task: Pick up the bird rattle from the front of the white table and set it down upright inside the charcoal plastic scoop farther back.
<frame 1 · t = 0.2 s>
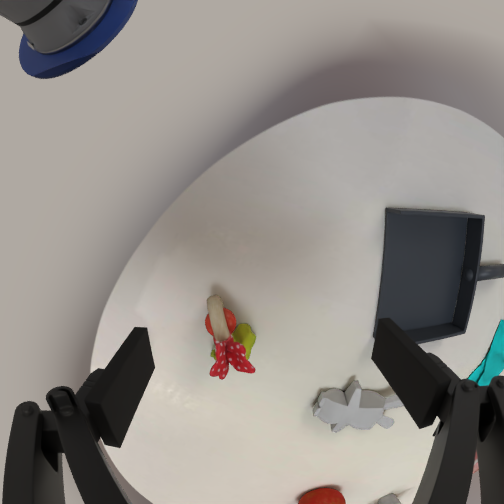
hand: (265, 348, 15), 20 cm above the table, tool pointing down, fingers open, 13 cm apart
scoop: (424, 273, 36), on the table
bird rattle: (224, 319, 36), on the table
apple: (318, 494, 47), on the table
house plant: (389, 495, 50), on the table
cloth: (492, 360, 41), on the table
bunny figurine: (356, 398, 40), on the table
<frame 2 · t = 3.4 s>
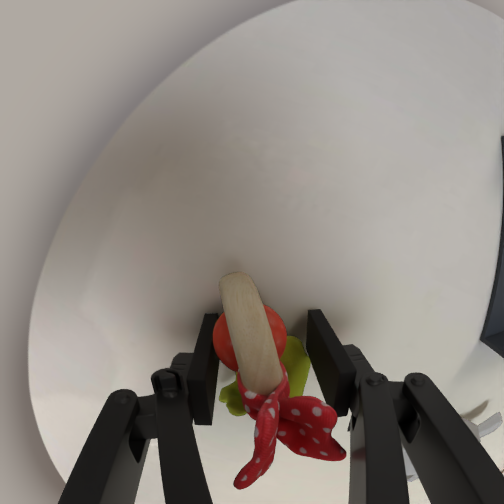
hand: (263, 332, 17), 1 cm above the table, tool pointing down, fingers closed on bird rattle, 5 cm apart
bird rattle: (249, 326, 18), on the table, touching gripper
bunny figurine: (437, 431, 22), on the table
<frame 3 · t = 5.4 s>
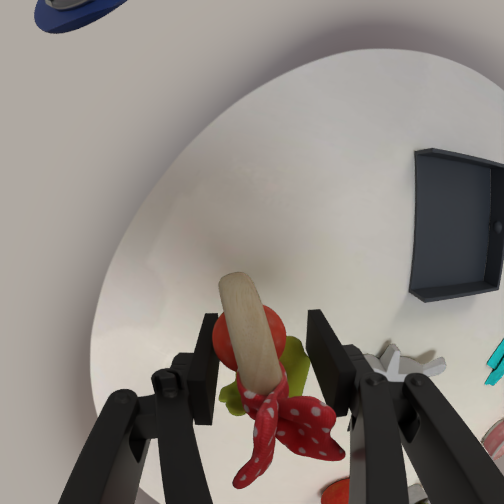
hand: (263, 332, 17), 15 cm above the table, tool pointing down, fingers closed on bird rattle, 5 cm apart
scoop: (455, 223, 32), on the table
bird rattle: (248, 326, 18), point 15 cm above the table, touching gripper
container: (493, 430, 44), on the table
apple: (342, 486, 43), on the table
house plant: (413, 486, 46), on the table
bunny figurine: (390, 368, 36), on the table
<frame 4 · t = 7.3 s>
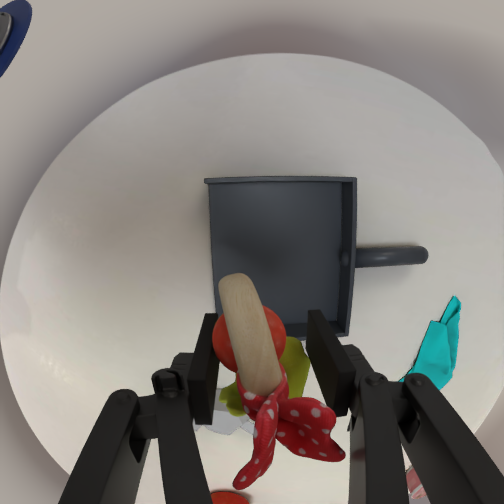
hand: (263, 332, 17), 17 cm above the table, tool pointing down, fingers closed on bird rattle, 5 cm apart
scoop: (277, 256, 33), on the table
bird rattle: (248, 327, 18), point 16 cm above the table, touching gripper
container: (419, 465, 46), on the table
apple: (226, 497, 45), on the table
cloth: (427, 371, 39), on the table
bunny figurine: (221, 398, 38), on the table
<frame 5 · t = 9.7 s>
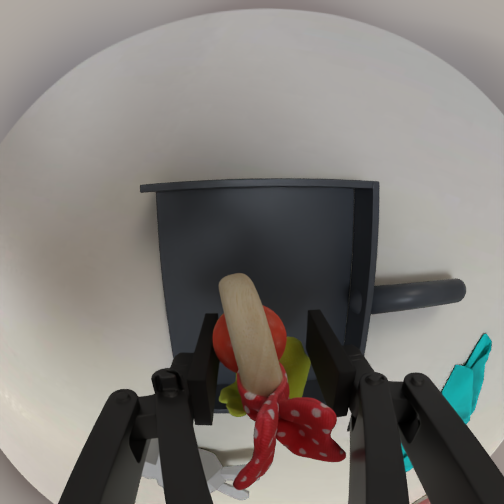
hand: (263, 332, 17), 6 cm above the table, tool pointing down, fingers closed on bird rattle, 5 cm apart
scoop: (258, 296, 23), on the table
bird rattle: (249, 327, 18), point 5 cm above the table, touching gripper
container: (422, 500, 36), on the table
cloth: (443, 417, 28), on the table
bunny figurine: (192, 454, 28), on the table
when the fingers open (1 cm above the table, at t = 11.3 s): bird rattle stays where it is, resting on scoop.
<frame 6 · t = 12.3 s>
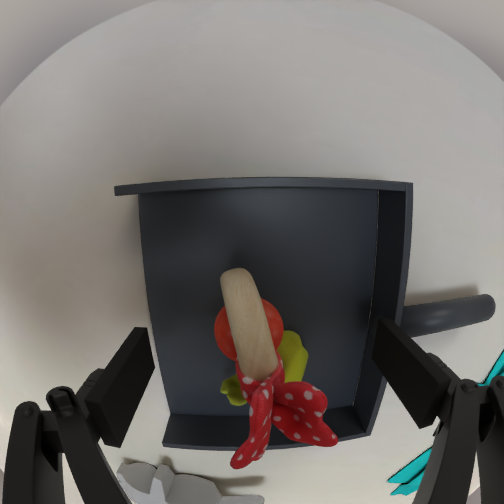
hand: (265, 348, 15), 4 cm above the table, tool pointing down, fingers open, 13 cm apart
scoop: (262, 319, 19), on the table
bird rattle: (249, 321, 19), resting on scoop
cloth: (457, 436, 24), on the table
bunny figurine: (189, 481, 23), on the table
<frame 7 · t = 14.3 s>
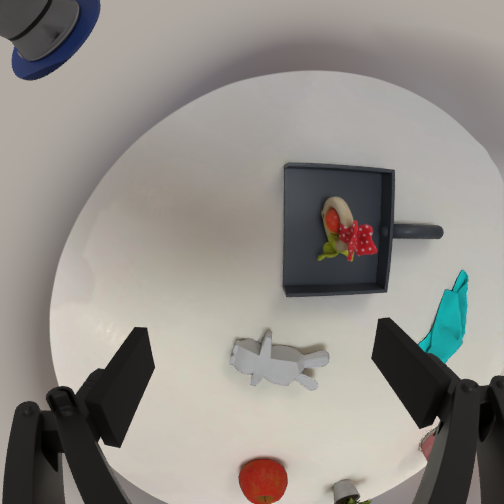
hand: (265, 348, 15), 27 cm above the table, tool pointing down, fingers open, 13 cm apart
scoop: (333, 228, 42), on the table
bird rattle: (329, 228, 41), resting on scoop
container: (433, 435, 54), on the table
apple: (261, 466, 53), on the table
house plant: (345, 481, 56), on the table
cloth: (442, 335, 47), on the table
bunny figurine: (277, 355, 46), on the table
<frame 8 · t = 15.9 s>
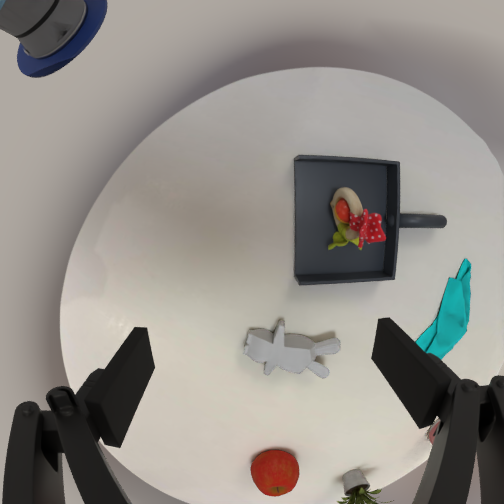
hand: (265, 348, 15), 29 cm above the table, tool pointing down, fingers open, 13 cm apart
scoop: (342, 218, 43), on the table
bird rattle: (338, 218, 42), resting on scoop
container: (439, 424, 55), on the table
apple: (273, 458, 54), on the table
house plant: (355, 471, 57), on the table
cloth: (447, 323, 48), on the table
bunny figurine: (289, 344, 47), on the table
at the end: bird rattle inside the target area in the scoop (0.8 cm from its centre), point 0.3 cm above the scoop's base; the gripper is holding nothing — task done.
